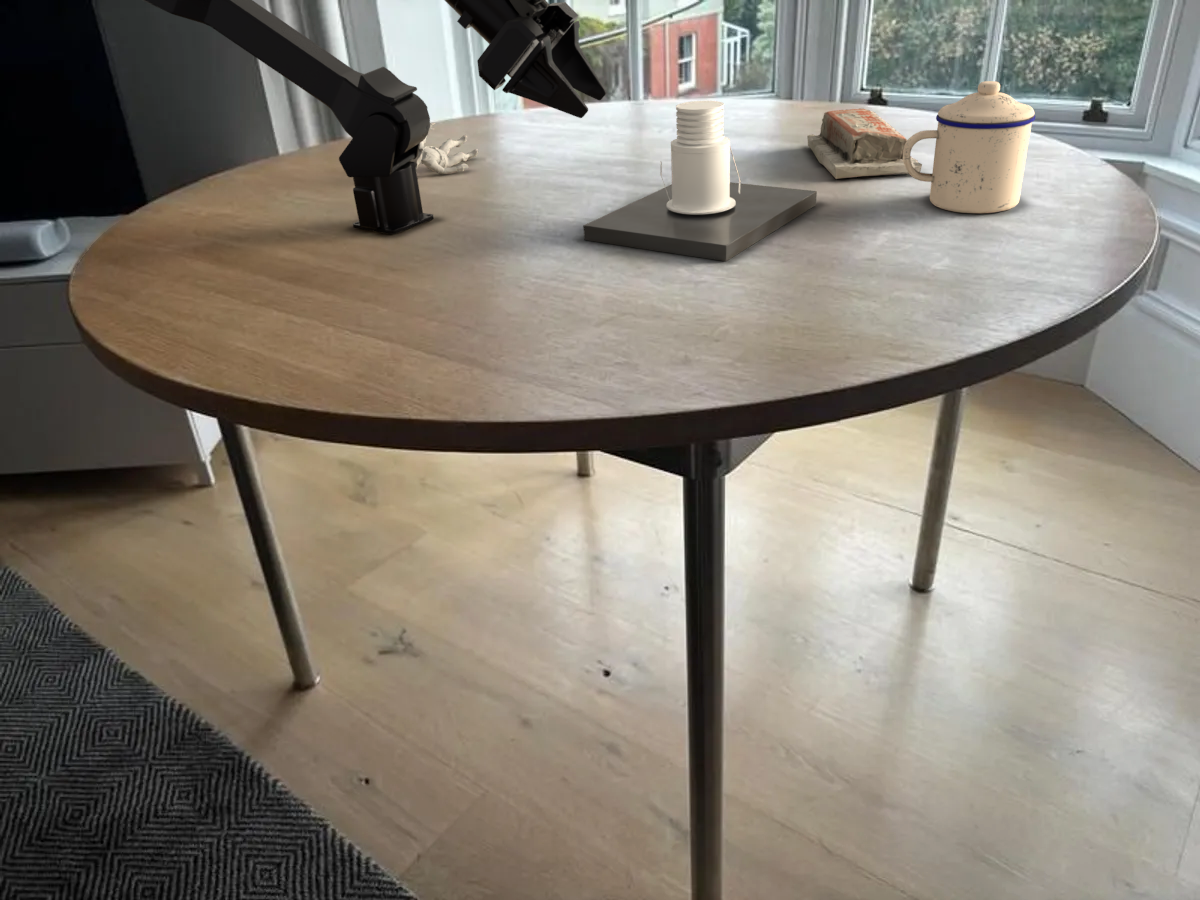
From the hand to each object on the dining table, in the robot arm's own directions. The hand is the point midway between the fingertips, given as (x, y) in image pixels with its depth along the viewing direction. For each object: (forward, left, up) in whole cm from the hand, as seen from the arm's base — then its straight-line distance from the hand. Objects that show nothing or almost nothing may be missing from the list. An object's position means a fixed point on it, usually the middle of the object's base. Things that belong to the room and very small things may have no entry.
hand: (594, 105), depth 92 cm
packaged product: (-34, +15, -12) cm, 39 cm away
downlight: (-4, +9, -10) cm, 15 cm away
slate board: (-4, +10, -12) cm, 16 cm away
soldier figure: (-12, -34, -12) cm, 38 cm away
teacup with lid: (-20, +31, -12) cm, 39 cm away
